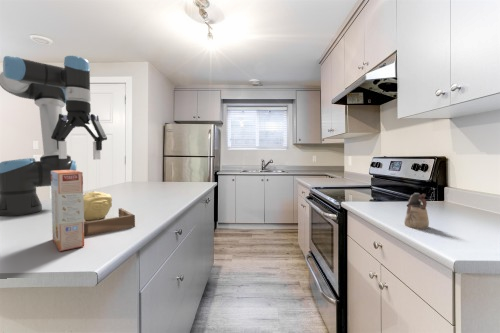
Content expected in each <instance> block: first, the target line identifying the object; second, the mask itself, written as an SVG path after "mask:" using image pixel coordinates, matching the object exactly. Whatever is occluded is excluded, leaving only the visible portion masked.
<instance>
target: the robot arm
mask: <svg viewBox="0 0 500 333" xmlns="http://www.w3.org/2000/svg"><path fill="white" fill-rule="evenodd" d="M63 60H64V63H63V66H64V67H63V66H57V65H53V64H48V63H43V62H38V61H34V60H29V59H24V58H22V57H19V56H18V57H17V56H16V57H15V56H11V55H6V56H4V57H3V60H2V72H1V73H0V87H1V88H2V89H3V90H4V91H5V92H7V93H9V94H11V95H12V96H16V97H18V98H22V99H28V100H34V104H35V105H36V106H38V108H39V117H40V118H39V119H40V130H41V139H42V149H43V155H41V156H40V157H39V160H36V159H35V158H34V157H33V158H32V157H31V158H30V157H29V158H19V159H11V160H4V161H1V162H0V217H15V216H17V217H18V216H25V215H30V214H34V213H39V212H41V211H42V210H43V205H42V204H43V203H42V202H41V200H40V198H39V196H38V194H37V188H40V187H51V171H54V170H75V171H77V163H76V161H75V160H72V157H71V155H69V154H68V151H67V150H68V149H67V148H68V147H67V141H66V138H68V136H69V134H70V133H71V132H72V131H73V130H74V129H75V128H84V129H85V130H86V131H87V133H88V134H89V135H90V137H92V139H93V140H94V141H92V156H93V160H96V161H97V160H101V151H102V150H103V144H102V143H103V142H104V141H107V140H108V137H107V135H106V132H105V131H104V129H103V126H102V124H101V122H100V119H99V115H98V114H93V113H92V114H90V113H91V111H92V110H91V103H90V102H91V74H90V73H91V69H90V62H89V61H88V60H87V59H86V58H84V57H82V56H77V55H66V56H65V57H64V59H63ZM63 107H65V111H66V112H67V114H63V111H62V109H63ZM90 121H91V122H90Z"/></svg>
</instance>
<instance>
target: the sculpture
mask: <svg viewBox="0 0 500 333" xmlns="http://www.w3.org/2000/svg"><path fill="white" fill-rule="evenodd" d="M112 202H113V198H112V196H111V194H110V193H105V192H101V191H100V190H99V191H90V192H85V193H84V194H83V212H84V220H85V221H96V220H102V219H105V217H106V216H107V215H108V213H109V211H110V210H111V208H112V206H113V205H112V204H113V203H112Z"/></svg>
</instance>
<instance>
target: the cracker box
mask: <svg viewBox="0 0 500 333" xmlns="http://www.w3.org/2000/svg"><path fill="white" fill-rule="evenodd" d="M83 175H84V174H83V172H82V171H79V170H76V171H75V170H54V171H51V186H50V191H51V220H52V221H51V225H52V227H51V228H52V230H51V233H52V240H53V242H54V244H55V246H56V247H57V250H58V251H59V252H64V251H68V250H73V249H79V248H83V247H85V236H84V212H83V195H84V179H83V178H84V176H83Z"/></svg>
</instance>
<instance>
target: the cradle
mask: <svg viewBox="0 0 500 333" xmlns="http://www.w3.org/2000/svg"><path fill="white" fill-rule="evenodd" d="M134 227H136V216H135V214H133V213H131V212H129V211H127V210H126V209H124V208H121V207H120V208H118V216H115V217H109V218H101V219H96V220H89V221H87V220H84V237H87V236H93V235H98V234H104V233H107V232H109V233H110V232H113V231H119V230H123V229H130V228H134Z"/></svg>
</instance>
